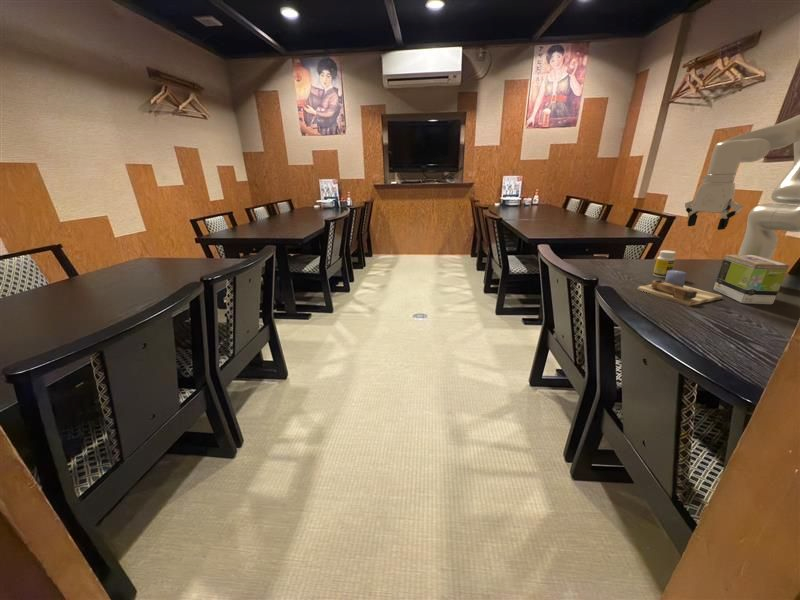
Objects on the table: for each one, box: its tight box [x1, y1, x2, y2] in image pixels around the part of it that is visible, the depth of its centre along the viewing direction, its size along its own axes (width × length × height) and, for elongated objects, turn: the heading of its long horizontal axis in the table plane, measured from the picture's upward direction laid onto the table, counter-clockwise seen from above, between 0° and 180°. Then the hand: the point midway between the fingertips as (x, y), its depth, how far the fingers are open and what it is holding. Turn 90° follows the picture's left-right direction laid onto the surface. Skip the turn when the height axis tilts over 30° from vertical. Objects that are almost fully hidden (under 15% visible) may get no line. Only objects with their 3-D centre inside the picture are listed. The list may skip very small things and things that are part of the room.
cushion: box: [664, 269, 688, 287], centre depth 128 cm, size 6×6×6 cm
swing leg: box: [650, 278, 697, 299], centre depth 122 cm, size 15×4×3 cm, turn 15°
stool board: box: [636, 283, 723, 307], centre depth 124 cm, size 18×19×5 cm
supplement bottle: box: [652, 249, 677, 279], centre depth 144 cm, size 6×6×11 cm
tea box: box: [713, 254, 790, 305], centre depth 118 cm, size 15×10×15 cm
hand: (705, 227), depth 120 cm, fingers open, 9 cm apart
